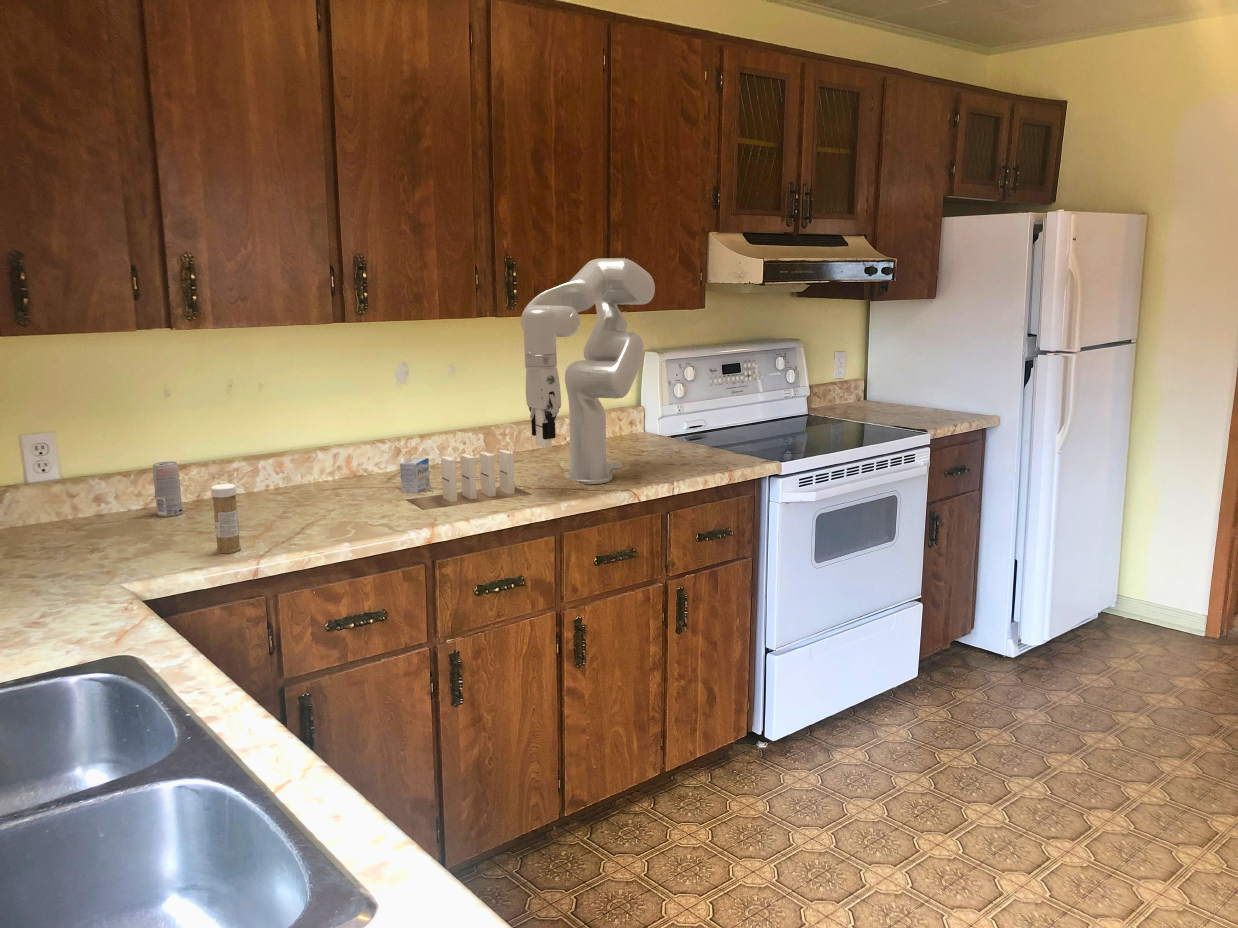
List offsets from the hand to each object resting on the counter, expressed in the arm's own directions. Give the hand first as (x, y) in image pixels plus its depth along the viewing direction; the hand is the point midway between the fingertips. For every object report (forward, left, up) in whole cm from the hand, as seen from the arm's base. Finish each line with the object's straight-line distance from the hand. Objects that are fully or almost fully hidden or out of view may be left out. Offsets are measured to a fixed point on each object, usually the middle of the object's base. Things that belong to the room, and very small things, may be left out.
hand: (543, 436), depth 232 cm
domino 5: (0, 0, -3) cm, 3 cm away
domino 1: (+22, -8, -14) cm, 27 cm away
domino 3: (+12, -8, -14) cm, 20 cm away
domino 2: (+17, -8, -14) cm, 23 cm away
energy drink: (+80, -35, -16) cm, 88 cm away
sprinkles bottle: (+74, +4, -16) cm, 75 cm away
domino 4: (+7, -8, -14) cm, 18 cm away
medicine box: (+25, -23, -16) cm, 37 cm away
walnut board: (+17, -8, -16) cm, 24 cm away
